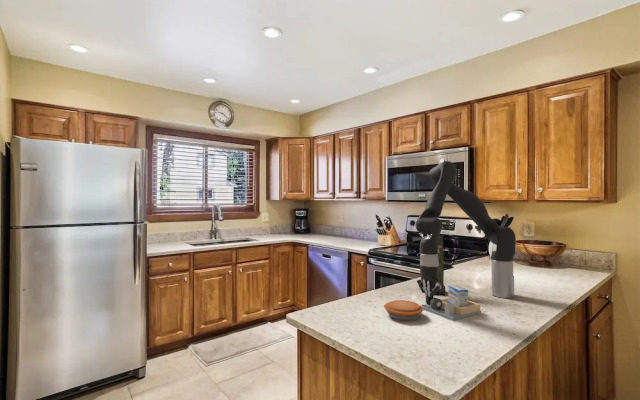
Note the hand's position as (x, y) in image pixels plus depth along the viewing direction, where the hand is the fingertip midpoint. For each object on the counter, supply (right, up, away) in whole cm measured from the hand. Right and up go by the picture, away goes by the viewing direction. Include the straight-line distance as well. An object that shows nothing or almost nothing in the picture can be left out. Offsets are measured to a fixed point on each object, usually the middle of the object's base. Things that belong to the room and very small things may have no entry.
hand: (429, 304), depth 140 cm
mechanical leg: (+12, -2, +25) cm, 28 cm away
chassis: (+8, -2, -2) cm, 8 cm away
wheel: (+2, -1, -3) cm, 4 cm away
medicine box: (+11, -1, -2) cm, 12 cm away
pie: (-13, -3, -8) cm, 15 cm away
